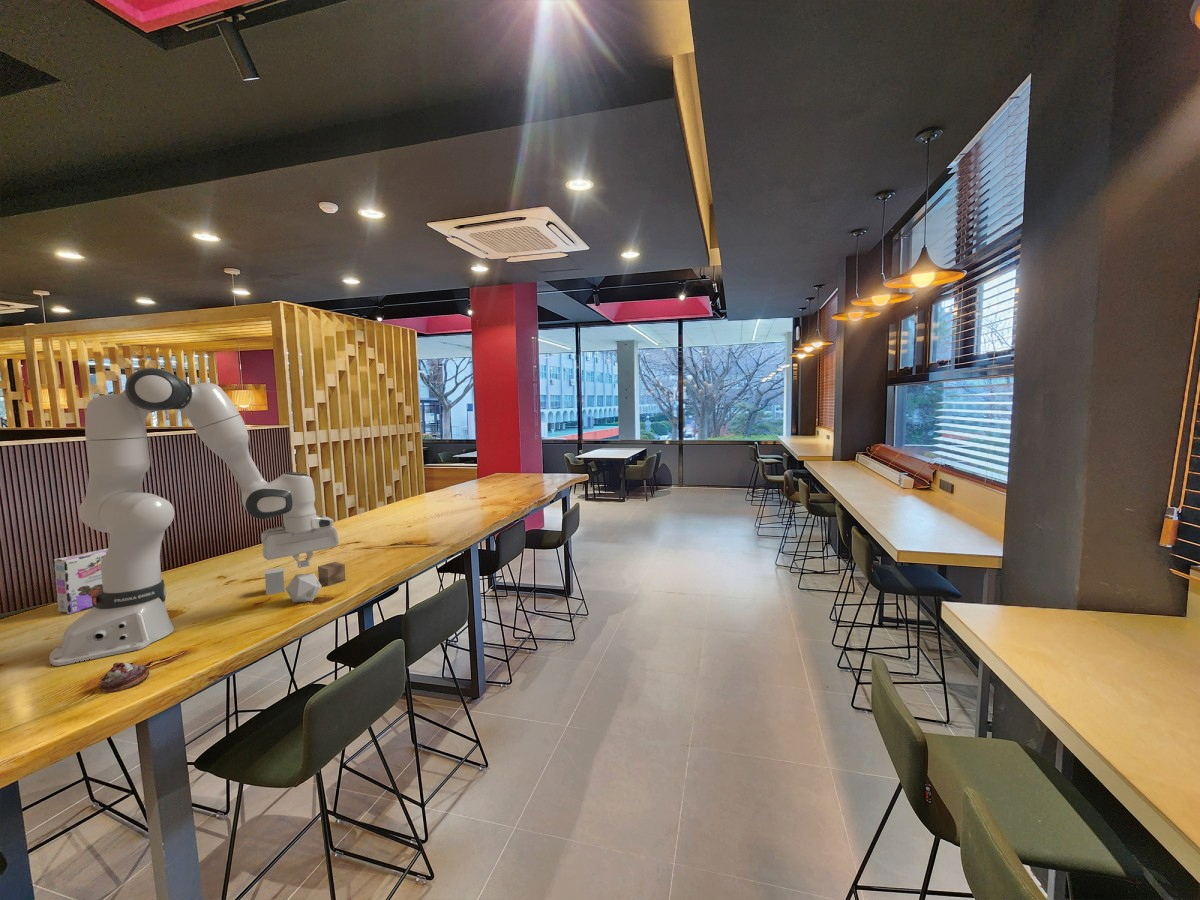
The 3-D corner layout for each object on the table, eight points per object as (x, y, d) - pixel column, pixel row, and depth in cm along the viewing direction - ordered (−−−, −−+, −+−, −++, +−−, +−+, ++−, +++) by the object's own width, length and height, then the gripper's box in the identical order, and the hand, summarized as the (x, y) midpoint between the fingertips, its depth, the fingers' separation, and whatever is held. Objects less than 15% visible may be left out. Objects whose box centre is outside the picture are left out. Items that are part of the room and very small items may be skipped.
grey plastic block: (266, 595, 156) (264, 574, 155) (266, 590, 160) (265, 570, 159) (284, 591, 159) (283, 571, 158) (284, 587, 163) (283, 567, 162)
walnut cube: (328, 586, 163) (327, 569, 163) (318, 583, 166) (317, 566, 166) (345, 580, 168) (344, 564, 168) (335, 578, 171) (335, 561, 171)
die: (300, 609, 145) (321, 579, 149) (274, 595, 145) (296, 565, 148) (311, 609, 153) (331, 580, 157) (286, 595, 153) (307, 567, 156)
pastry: (90, 691, 102) (88, 669, 102) (130, 672, 110) (128, 651, 109) (120, 695, 101) (118, 672, 100) (159, 675, 108) (157, 654, 108)
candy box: (69, 615, 142) (63, 560, 140) (57, 612, 143) (52, 559, 142) (127, 597, 155) (123, 548, 153) (116, 595, 156) (111, 546, 155)
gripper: (262, 531, 140) (265, 577, 141) (338, 519, 154) (341, 561, 155) (258, 528, 144) (261, 572, 146) (333, 516, 158) (335, 557, 160)
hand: (303, 566), depth 150 cm, fingers closed
